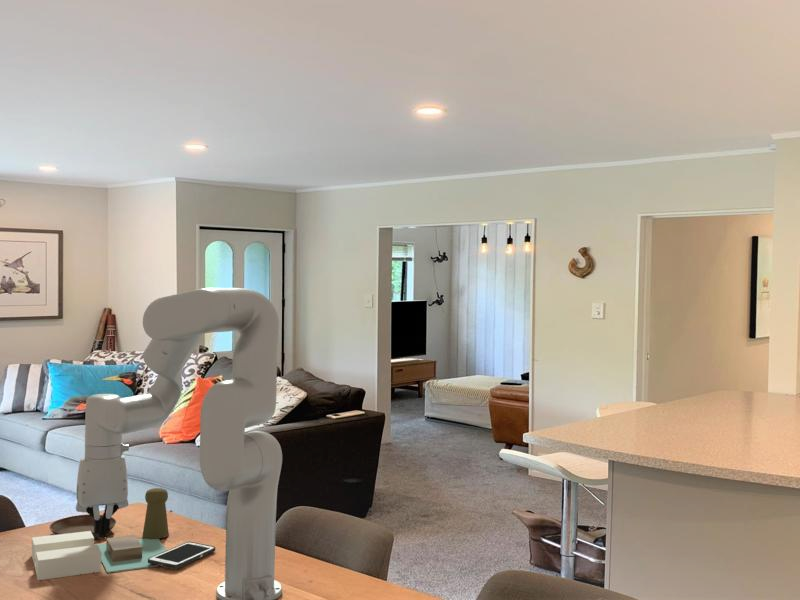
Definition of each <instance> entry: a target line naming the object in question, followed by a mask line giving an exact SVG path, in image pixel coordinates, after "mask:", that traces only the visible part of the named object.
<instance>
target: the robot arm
mask: <svg viewBox="0 0 800 600" xmlns="http://www.w3.org/2000/svg"><path fill="white" fill-rule="evenodd" d="M142 327H143V330H144V332H145V334H146V335H147V336H148V337H149V338H150V339H151V340H150V342H149V343H148V345H147V347H146V348H145V350H144V352H143V355H142V359H143V361H144V364H145V366H147V368H148V369H150V371H152V372H153V373H155V374H156V375H157V377H156V379H155V380H154V382H153V384H152V386H151V388H150V389H149V390H148V392H147V393H144V394H137V395H132V396H131V395H129V396H127V397H125V396H124V397H122V396H120V395H118V394H114V393H98V394H97V393H96V394H92V395H90V396H88V397H87V398H86V401H85V417H84V418H85V422H84V423H85V425H84V428H85V429H84V457H81V458H80V460H79V464H78V469H77V470H78V471H77V478H76V479H77V480H76V481H77V482H76V492H75V493H76V505H75V510H76V512H77V513H84V514H85V513H87V515H91V516H92V517H93V518H94V533H95V534H97V536H98V538H97V539H102V538H104V539H105V538H106V539H107V538H108V536H107V535H108V533H110V532H111V531H110V518H111V517H112V518H113V515H114V514H115V513H116V512H117V511H118V510H121V509H124V508H127V507H128V506H129V501H128V498H129V497H128V496H129V485H128V484H129V483H128V469H127V461H126V458H125V455H123V454H124V453H125V452H129V450H130V446H129V444H124V443H123V435H125V434H131V433H136V432H139V431H143V430H149V429H153V428H156V427H158V426H161V425H162V424H163V423H164V422H165V421H166V420H168V417H169V416H170V415H171V414H172V412H173V410H174V409H175V407H176V406H177V404H178V403H179V400H180V398H181V395H182V391H183V375H182V371H183V369H184V367H185V366H186V364H187V363H188V361H189V359H190V358H191V356H192V355H193V353H194V351H195V350H196V348H197V347H198V345H199V344H200V341H201V340H202V339H203V337H204V335H205V334H211V333H225V332H226V333H227V332H228V333H229V332H238V333H239V338H238V339H237V341H236V343H235V347H234V349H233V351H232V352H233V353H232V371H231V378H230V379H225V380H222V381H219V382H216V383H215V384H213V385H212V386H211V387H210V388H209V389H208V390H207V391H206V393H205V394H204V397H203V399H202V402H201V405H200V406H201V407H200V421H199V422H200V425H199V427H200V428H199V467H200V472H201V475H202V478H203V480H204V482H205V483H206V484H207V485H208V487H210V488H211V489H212V490H215V491H217V492H228V491H229V492H228V496H227V503H226V520H225V521H226V522H225V560H224V561H225V567H224V568H225V569H224V581H223V582H221V583H220V584H219V585H218V586H217V587H216V590H215V593H216V597H217V599H219V600H277V599H278V598H279V597H280V596H281V595H282V594H283V592H282V591H283V585H282V584H281V583H280V582H279V581H278V580H276V579H275V564H276V563H275V560H276V556H275V555H276V525H277V524H276V521H277V520H276V518H277V499H278V488H279V486H278V485H279V481H280V476H281V470H282V465H283V452H282V450H283V449H282V447H281V445H280V443H279V441H278V440H277V438H276V437H275V436H274V435H272V434H271V433H270V432H266V431H262V430H253V431H249V432H246V431H245V430H246V429H248V428H251V427H255V426H260V425H261V424H265V423H267V422H269V420H271V419H272V418H273V416H274V415H275V413H276V408H277V407H276V406H277V389H278V388H277V384H278V383H277V379H278V377H277V376H278V374H277V373H278V362H277V361H278V360H277V358H278V344H279V335H280V320H279V316H278V312H277V309H276V307H275V305H274V304H273V302H271V300H270V299H269V298H268V297H267V296H265V295H264V294H262V293H260V292H258V291H257V290H254V289H249V288H242V287H241V288H240V287H205V288H203V287H202V288H198V289H197V288H196V289H193V290H189V291H183V292H180V293H177V294H171V295H167V296H163V297H158V298H157V299H154V300H153V301H151V302H150V303H149V305H148V306H147V307H146V308H145V311H144V313H143V316H142ZM100 506H104V512H103V513H102V514H101V513H100ZM101 515H103V516H102V517H101ZM107 532H108V533H107ZM102 536H103V537H102Z"/></svg>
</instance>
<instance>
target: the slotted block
mask: <svg viewBox="0 0 800 600" xmlns="http://www.w3.org/2000/svg"><path fill="white" fill-rule="evenodd" d="M31 559H32V563H33V566H34V567H33V568H34V571H35V575H36V578H37V581H43V580H50V579H57V578H66V577H72V576H80V574H81V575H86V574H87V575H88V574H93V572H94V573H101V572H102V561H101V551H100V549H99V547H98V545H96V544H95V539H94V537H93V535H92V533H91V531H85V532H76V533H68V534H59V535H55V534H52V535H43V536H35V537H31Z"/></svg>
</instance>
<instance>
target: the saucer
mask: <svg viewBox="0 0 800 600" xmlns="http://www.w3.org/2000/svg"><path fill="white" fill-rule="evenodd" d="M100 515H101V517H102V516H103V514H100ZM116 524H117V520H116V519H115V518H114V517H113V516H112V517H111V518H110V531H109V532H111V530H113V528H115V526H116ZM49 529H50V531H51V533H53V535H59V534H68V533H76V532H85V531H91V533H92V535H93V537H94V540H96V538H97V539H99V538H98V536H97V534H95V533H94V518H93V517H92V516H91V515H90V514H79V515H72V516H67V517H64V518H60V519H58V520H55V521H54V522H52V523H51V524H50V525H49ZM109 532H107V534H109Z"/></svg>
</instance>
